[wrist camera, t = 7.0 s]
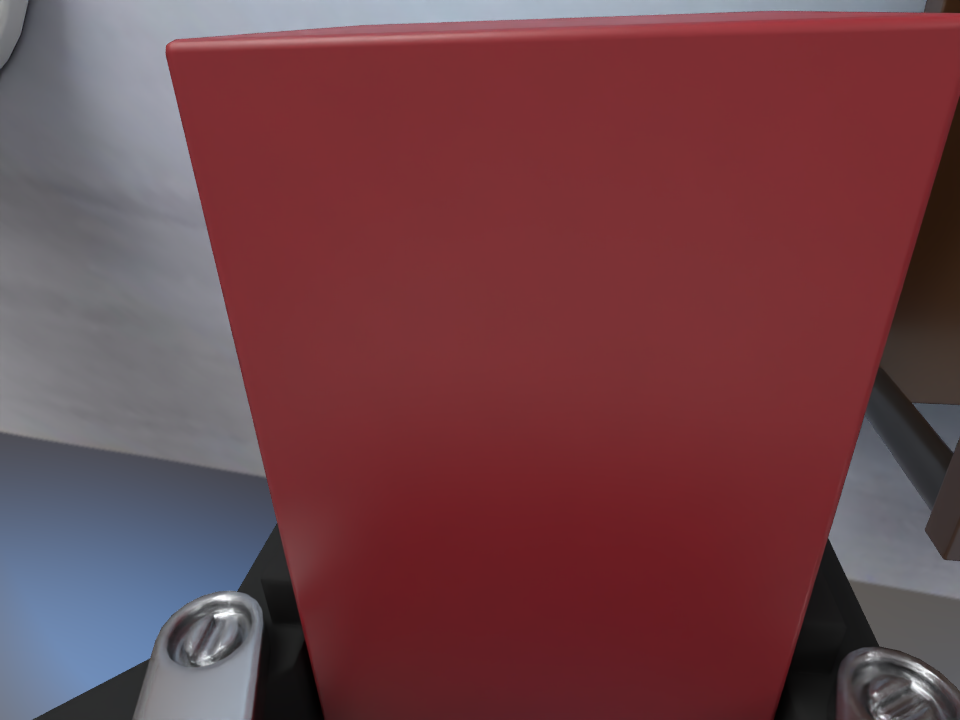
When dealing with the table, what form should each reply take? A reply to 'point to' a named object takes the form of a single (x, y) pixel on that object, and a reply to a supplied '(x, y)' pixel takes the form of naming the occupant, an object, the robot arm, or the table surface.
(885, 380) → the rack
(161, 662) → the robot arm
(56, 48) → the table surface
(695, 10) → the table surface
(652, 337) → the red rectangular block
